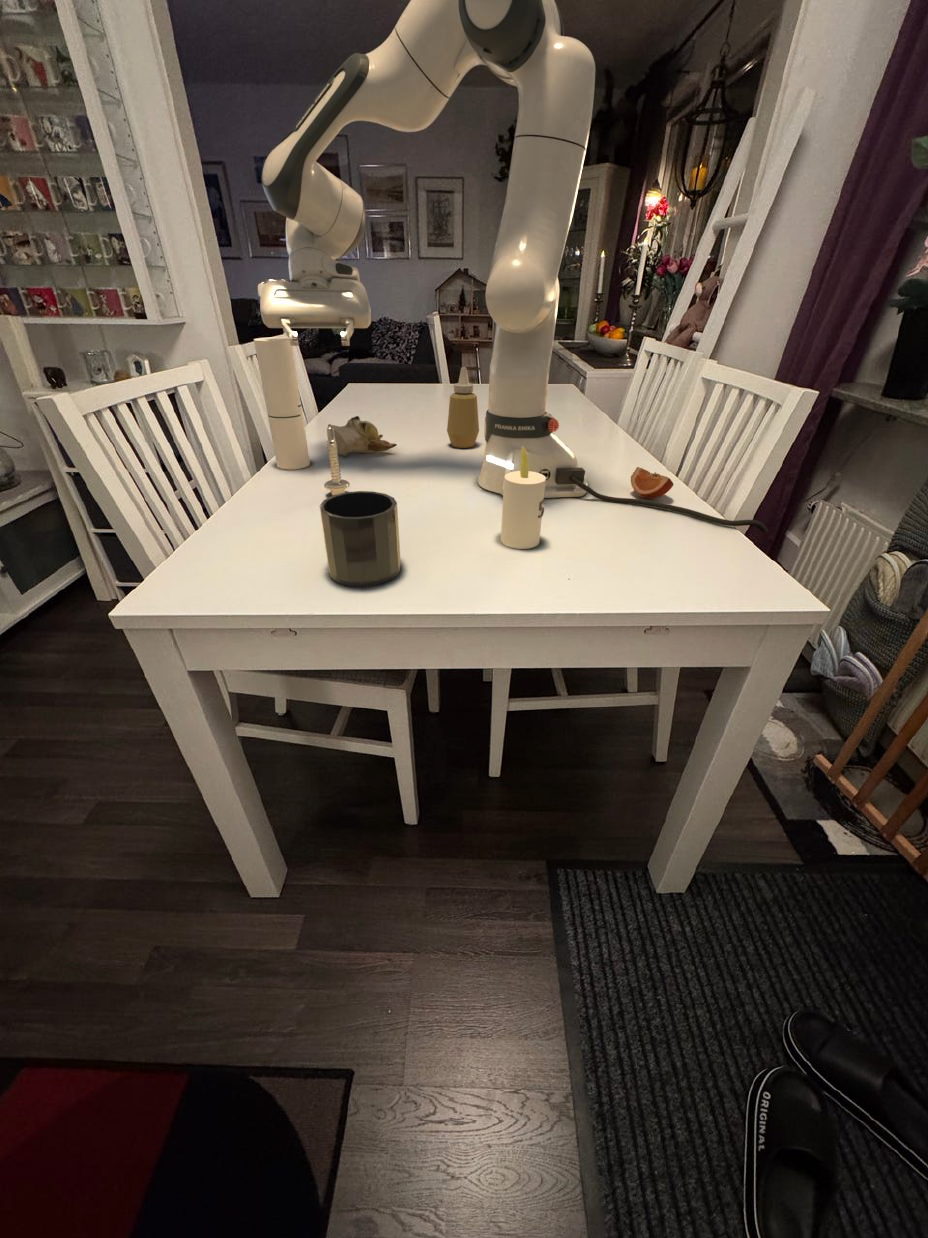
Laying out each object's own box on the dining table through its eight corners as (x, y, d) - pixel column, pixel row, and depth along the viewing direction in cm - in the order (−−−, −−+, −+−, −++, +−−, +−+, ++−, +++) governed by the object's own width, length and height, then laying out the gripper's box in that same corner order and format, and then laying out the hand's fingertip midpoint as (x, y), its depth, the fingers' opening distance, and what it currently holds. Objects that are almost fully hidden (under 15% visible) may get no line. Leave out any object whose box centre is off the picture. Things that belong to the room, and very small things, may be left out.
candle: (530, 552, 81) (539, 456, 73) (493, 542, 84) (498, 448, 76) (546, 538, 86) (557, 445, 77) (511, 529, 88) (518, 439, 80)
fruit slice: (621, 492, 105) (625, 467, 102) (645, 487, 107) (651, 463, 104) (651, 506, 98) (657, 480, 96) (677, 500, 101) (683, 475, 98)
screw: (328, 500, 99) (323, 492, 102) (353, 497, 100) (347, 489, 104) (318, 429, 92) (313, 423, 95) (345, 427, 93) (340, 421, 97)
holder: (405, 555, 80) (401, 492, 74) (393, 588, 71) (388, 520, 66) (339, 552, 80) (331, 489, 75) (320, 585, 72) (309, 517, 66)
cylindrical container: (314, 460, 120) (296, 337, 106) (303, 470, 114) (283, 341, 100) (284, 459, 120) (262, 336, 107) (271, 468, 114) (247, 340, 101)
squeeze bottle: (446, 441, 135) (445, 365, 125) (477, 441, 136) (479, 365, 126) (448, 450, 128) (447, 370, 118) (480, 449, 129) (482, 370, 119)
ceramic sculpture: (320, 412, 122) (381, 410, 128) (323, 449, 126) (381, 446, 133) (334, 422, 114) (398, 419, 120) (336, 462, 119) (397, 457, 125)
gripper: (253, 265, 95) (258, 331, 93) (366, 268, 99) (374, 331, 97) (260, 293, 101) (265, 355, 99) (366, 294, 105) (374, 354, 103)
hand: (320, 343), depth 98 cm, fingers open, 8 cm apart
